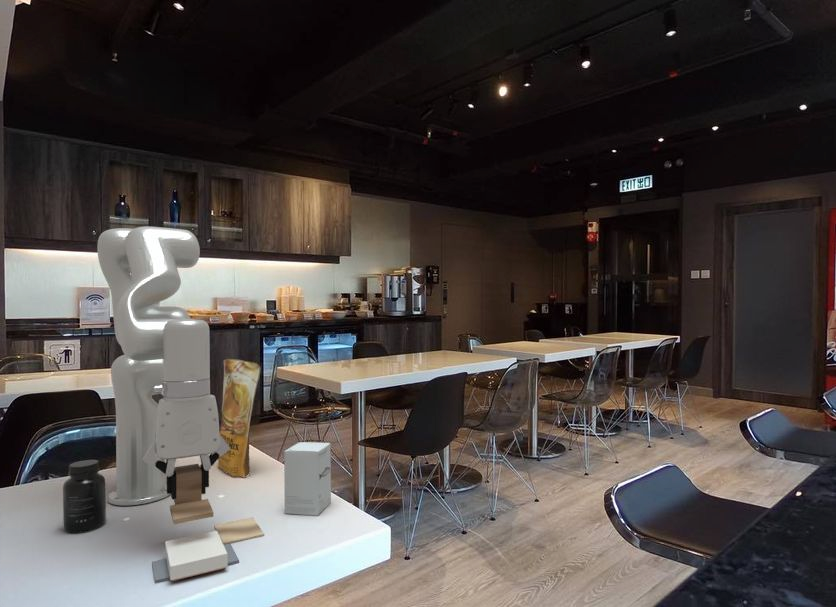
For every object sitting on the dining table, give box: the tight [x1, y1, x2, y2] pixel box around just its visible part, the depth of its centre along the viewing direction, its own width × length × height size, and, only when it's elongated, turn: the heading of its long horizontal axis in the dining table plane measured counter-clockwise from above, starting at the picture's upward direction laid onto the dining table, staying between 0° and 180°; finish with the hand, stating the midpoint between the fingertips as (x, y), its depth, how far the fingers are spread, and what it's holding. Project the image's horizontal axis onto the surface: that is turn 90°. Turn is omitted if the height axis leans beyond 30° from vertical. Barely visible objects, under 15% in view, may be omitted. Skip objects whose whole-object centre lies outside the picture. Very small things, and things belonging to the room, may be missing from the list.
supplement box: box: [283, 441, 332, 517], centre depth 107 cm, size 7×7×13 cm
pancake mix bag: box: [217, 358, 262, 478], centre depth 134 cm, size 7×19×28 cm, turn 39°
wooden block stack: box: [169, 463, 214, 525], centre depth 90 cm, size 10×6×6 cm, turn 30°
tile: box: [164, 530, 229, 582], centre depth 83 cm, size 2×8×10 cm
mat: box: [151, 543, 240, 584], centre depth 83 cm, size 7×12×1 cm, turn 120°
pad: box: [214, 516, 265, 545], centre depth 96 cm, size 9×7×1 cm
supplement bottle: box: [62, 459, 107, 534], centre depth 99 cm, size 7×7×12 cm
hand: (188, 493), depth 92 cm, fingers closed on wooden block stack, 4 cm apart
